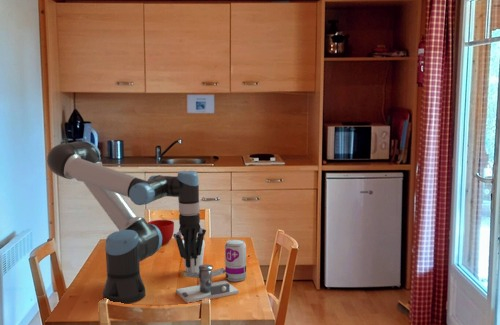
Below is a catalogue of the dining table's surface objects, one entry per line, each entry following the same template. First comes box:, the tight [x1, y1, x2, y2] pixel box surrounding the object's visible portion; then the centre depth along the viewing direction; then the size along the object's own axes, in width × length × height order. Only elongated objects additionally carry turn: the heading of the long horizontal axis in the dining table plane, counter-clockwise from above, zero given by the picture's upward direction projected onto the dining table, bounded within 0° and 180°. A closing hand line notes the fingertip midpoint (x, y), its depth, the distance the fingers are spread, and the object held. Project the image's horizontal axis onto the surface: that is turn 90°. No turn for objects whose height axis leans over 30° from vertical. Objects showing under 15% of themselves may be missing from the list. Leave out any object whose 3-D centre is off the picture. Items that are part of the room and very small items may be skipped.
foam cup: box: [182, 239, 206, 272], centre depth 231 cm, size 10×9×13 cm
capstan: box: [181, 263, 225, 293], centre depth 208 cm, size 16×14×9 cm
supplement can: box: [224, 238, 247, 282], centre depth 223 cm, size 8×8×15 cm
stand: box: [175, 280, 240, 304], centre depth 209 cm, size 20×13×4 cm, turn 117°
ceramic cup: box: [147, 219, 175, 246], centre depth 271 cm, size 13×17×10 cm
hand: (191, 274), depth 211 cm, fingers closed
